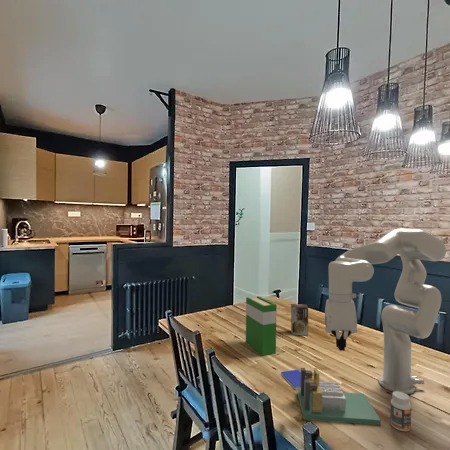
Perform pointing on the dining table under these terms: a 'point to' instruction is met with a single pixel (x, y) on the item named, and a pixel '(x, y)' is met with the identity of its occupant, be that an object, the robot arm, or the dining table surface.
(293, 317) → the coffee box
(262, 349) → the hardback book
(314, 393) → the tan notched block
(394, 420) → the pill bottle
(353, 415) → the board
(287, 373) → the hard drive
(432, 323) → the robot arm
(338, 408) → the heatsink
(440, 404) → the dining table surface
